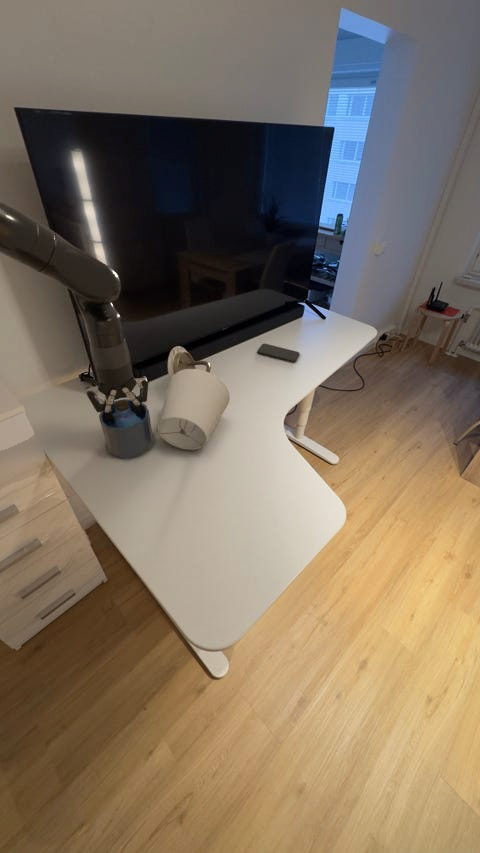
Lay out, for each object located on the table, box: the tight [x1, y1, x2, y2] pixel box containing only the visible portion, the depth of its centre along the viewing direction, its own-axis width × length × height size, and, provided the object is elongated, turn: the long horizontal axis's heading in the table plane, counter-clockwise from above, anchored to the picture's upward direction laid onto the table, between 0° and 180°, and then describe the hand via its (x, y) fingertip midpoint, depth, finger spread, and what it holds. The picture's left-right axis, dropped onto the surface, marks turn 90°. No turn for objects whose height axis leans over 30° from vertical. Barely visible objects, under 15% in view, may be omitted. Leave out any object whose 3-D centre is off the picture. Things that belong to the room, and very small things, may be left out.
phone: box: [257, 343, 300, 363], centre depth 130 cm, size 7×1×15 cm
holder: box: [98, 398, 154, 460], centre depth 87 cm, size 12×12×10 cm
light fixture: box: [157, 345, 231, 451], centre depth 96 cm, size 17×19×34 cm
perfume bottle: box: [108, 399, 142, 428], centre depth 86 cm, size 6×6×12 cm
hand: (124, 418), depth 85 cm, fingers closed on perfume bottle, 5 cm apart
